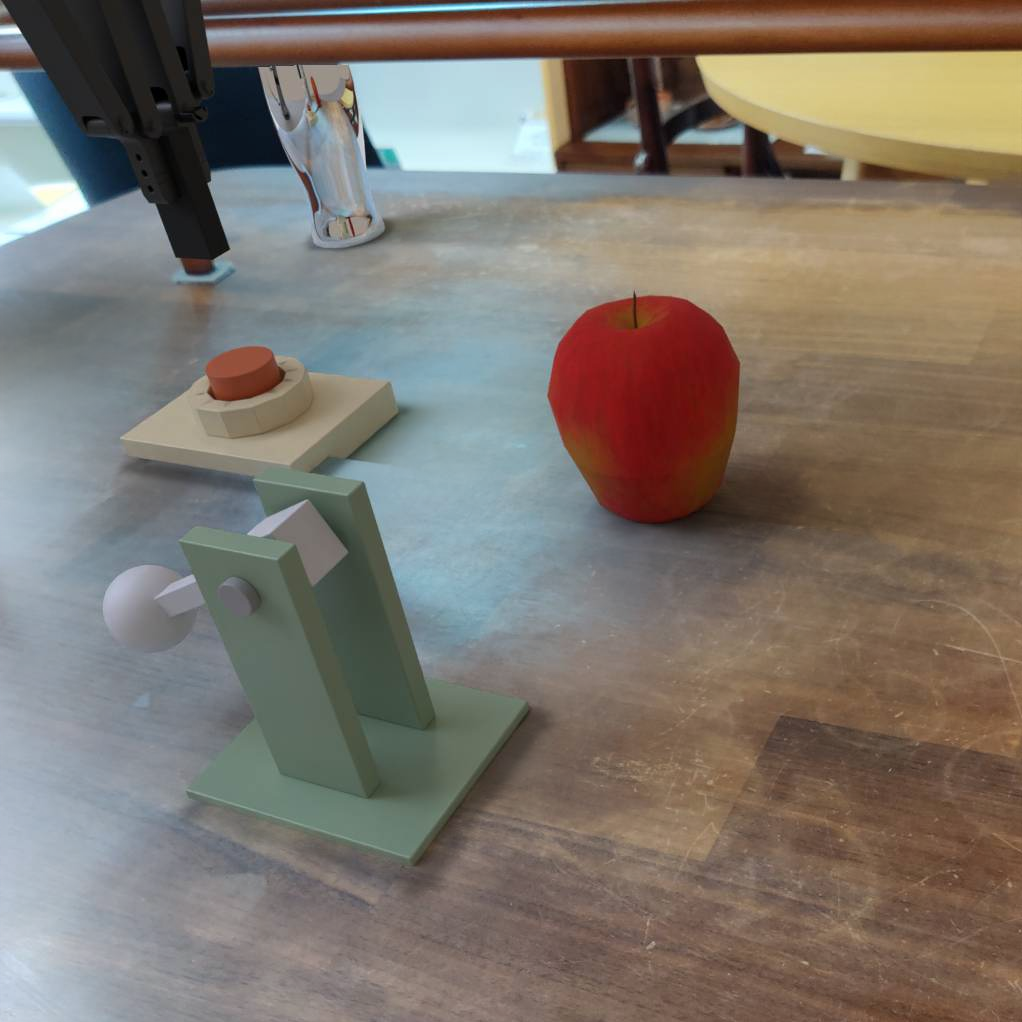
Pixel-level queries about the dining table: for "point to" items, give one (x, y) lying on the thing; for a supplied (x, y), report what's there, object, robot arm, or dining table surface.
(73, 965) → the dining table surface
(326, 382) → the cream button base
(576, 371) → the apple
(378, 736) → the bracket
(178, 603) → the tap lever
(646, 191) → the dining table surface
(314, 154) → the beer glass
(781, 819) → the dining table surface
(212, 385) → the button
